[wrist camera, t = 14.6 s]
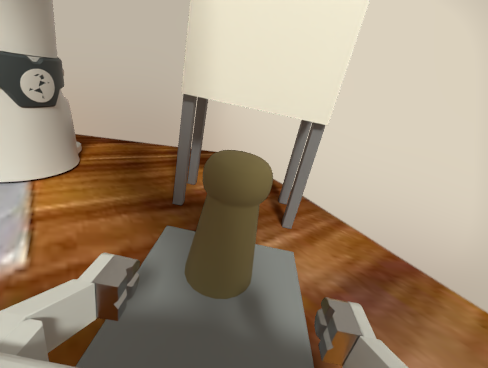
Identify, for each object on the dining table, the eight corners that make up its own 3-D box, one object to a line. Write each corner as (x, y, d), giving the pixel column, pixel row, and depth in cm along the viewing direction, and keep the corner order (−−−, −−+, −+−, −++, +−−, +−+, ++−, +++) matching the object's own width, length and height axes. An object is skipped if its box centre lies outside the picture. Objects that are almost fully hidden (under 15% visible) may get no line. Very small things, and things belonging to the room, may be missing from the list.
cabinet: (291, 232, 32) (388, -56, 21) (170, 206, 32) (199, -100, 20) (285, 198, 41) (349, -15, 30) (190, 178, 41) (219, -45, 30)
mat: (335, 530, 11) (342, 523, 11) (17, 469, 11) (14, 460, 10) (291, 257, 27) (293, 252, 27) (166, 231, 27) (167, 225, 27)
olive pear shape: (192, 243, 25) (206, 137, 20) (251, 253, 25) (278, 151, 21) (176, 292, 19) (191, 161, 15) (252, 304, 20) (289, 180, 15)
